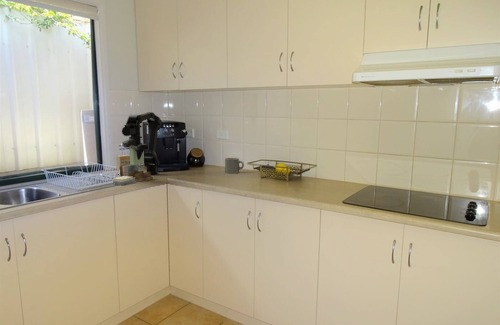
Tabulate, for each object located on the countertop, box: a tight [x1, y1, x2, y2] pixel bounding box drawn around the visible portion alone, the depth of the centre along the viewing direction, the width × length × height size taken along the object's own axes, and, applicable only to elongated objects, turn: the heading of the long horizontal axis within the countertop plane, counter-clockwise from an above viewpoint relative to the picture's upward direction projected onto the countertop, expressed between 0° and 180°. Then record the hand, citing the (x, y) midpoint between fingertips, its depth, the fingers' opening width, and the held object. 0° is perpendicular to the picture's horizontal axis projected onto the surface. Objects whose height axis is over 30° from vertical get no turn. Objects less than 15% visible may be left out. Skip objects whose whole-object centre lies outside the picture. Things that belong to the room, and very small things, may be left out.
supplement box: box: [115, 154, 130, 172], centre depth 237 cm, size 8×5×13 cm, turn 143°
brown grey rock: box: [119, 165, 154, 183], centre depth 222 cm, size 11×20×8 cm, turn 52°
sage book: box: [129, 147, 145, 166], centre depth 218 cm, size 7×4×10 cm, turn 141°
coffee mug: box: [224, 157, 245, 175], centre depth 246 cm, size 13×10×10 cm
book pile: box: [112, 176, 136, 186], centre depth 208 cm, size 11×9×3 cm
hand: (136, 159), depth 218 cm, fingers closed on sage book, 4 cm apart
